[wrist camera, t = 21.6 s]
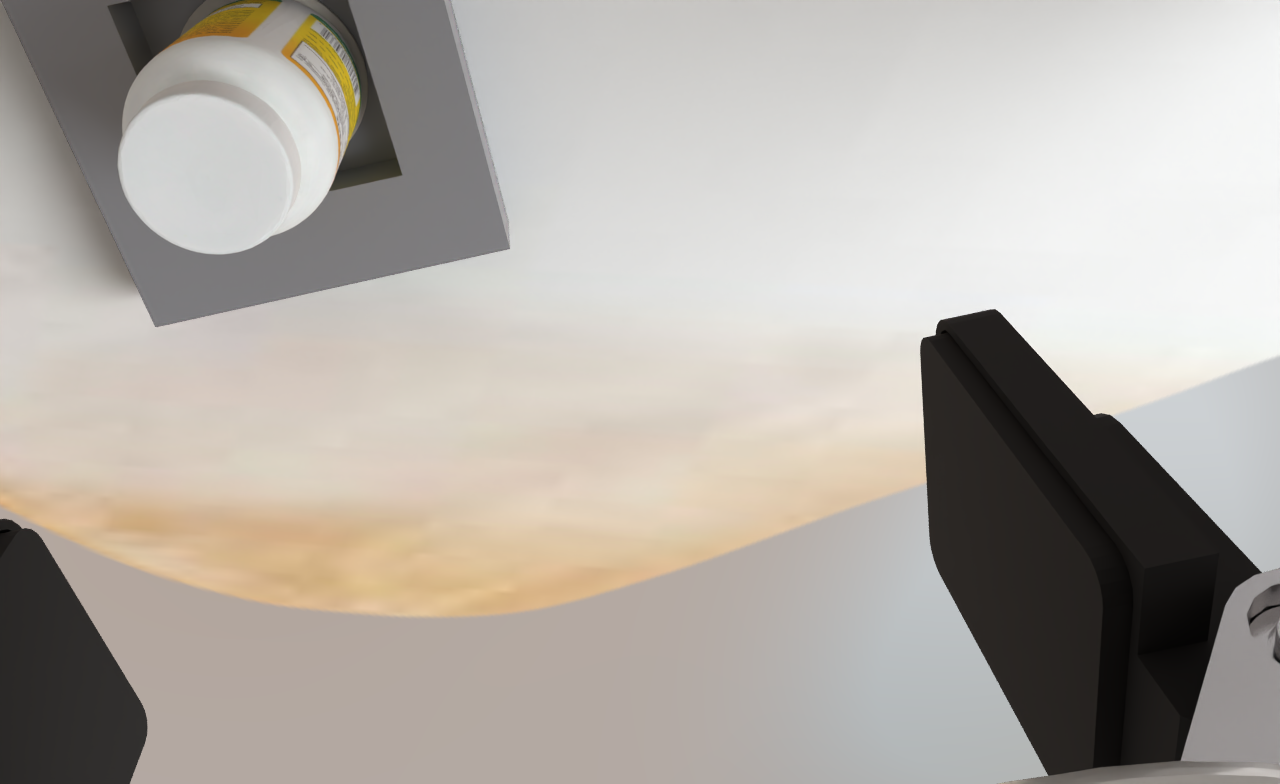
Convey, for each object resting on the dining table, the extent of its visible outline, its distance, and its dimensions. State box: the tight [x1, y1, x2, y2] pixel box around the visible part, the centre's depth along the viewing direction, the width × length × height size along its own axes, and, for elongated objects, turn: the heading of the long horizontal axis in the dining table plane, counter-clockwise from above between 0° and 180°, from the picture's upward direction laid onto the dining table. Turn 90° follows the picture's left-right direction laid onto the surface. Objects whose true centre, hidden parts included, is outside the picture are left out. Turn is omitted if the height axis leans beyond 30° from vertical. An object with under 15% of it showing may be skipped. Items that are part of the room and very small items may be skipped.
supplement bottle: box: [117, 0, 362, 254], centre depth 29 cm, size 5×5×10 cm
